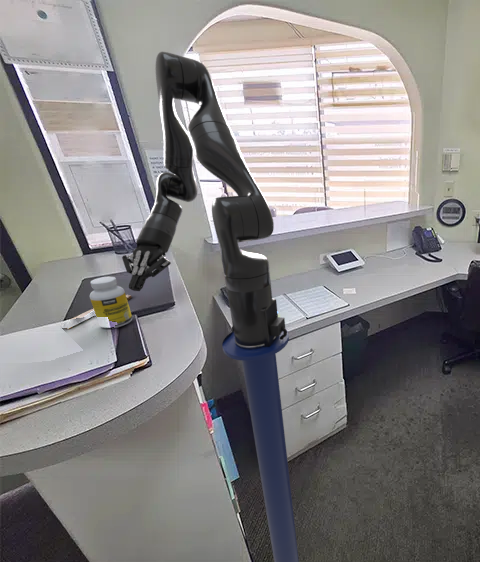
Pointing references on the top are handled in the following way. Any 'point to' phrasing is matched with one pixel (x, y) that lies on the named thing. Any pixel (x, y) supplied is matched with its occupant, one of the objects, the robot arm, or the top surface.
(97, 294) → the pill bottle
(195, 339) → the top surface
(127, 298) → the ruler
